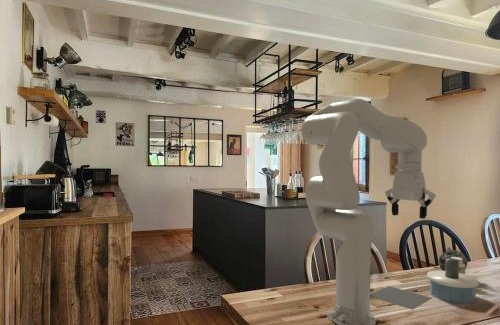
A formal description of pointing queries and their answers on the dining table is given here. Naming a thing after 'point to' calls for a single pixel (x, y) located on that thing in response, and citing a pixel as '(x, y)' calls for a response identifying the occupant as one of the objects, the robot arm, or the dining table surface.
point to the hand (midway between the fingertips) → (408, 216)
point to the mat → (400, 297)
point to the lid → (452, 276)
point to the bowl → (453, 293)
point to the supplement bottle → (460, 265)
